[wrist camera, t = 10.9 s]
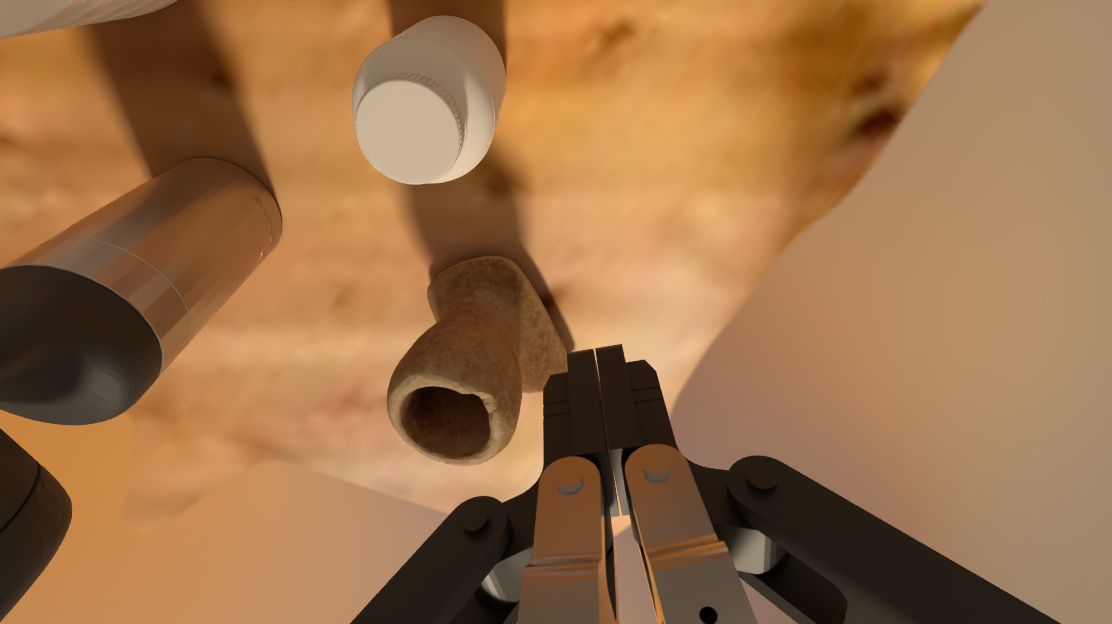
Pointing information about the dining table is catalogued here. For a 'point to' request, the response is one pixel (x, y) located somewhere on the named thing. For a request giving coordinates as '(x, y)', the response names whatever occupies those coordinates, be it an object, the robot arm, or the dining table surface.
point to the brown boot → (474, 363)
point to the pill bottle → (429, 101)
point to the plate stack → (67, 13)
